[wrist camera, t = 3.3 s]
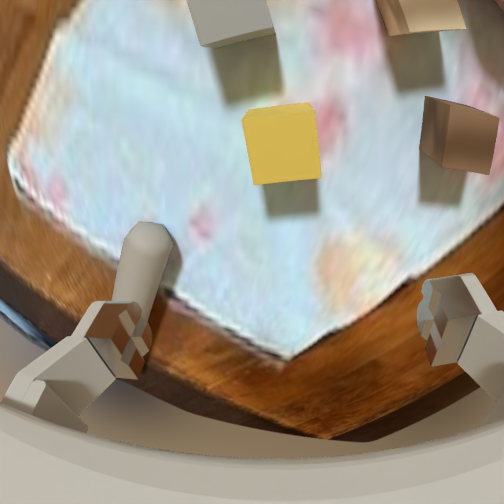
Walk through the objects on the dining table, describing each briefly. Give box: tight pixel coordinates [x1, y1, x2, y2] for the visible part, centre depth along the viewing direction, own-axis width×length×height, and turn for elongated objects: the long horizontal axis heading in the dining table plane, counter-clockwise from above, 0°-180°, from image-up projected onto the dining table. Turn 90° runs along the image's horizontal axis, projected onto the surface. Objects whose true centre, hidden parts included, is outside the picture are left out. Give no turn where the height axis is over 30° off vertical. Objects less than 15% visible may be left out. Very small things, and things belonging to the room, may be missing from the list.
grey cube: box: [187, 0, 276, 49], centre depth 18 cm, size 5×5×5 cm
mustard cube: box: [242, 102, 322, 185], centre depth 23 cm, size 5×5×5 cm
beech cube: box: [376, 0, 466, 36], centre depth 16 cm, size 5×5×5 cm
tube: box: [112, 221, 174, 321], centre depth 36 cm, size 5×5×25 cm
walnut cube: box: [419, 96, 499, 175], centre depth 21 cm, size 5×5×5 cm
